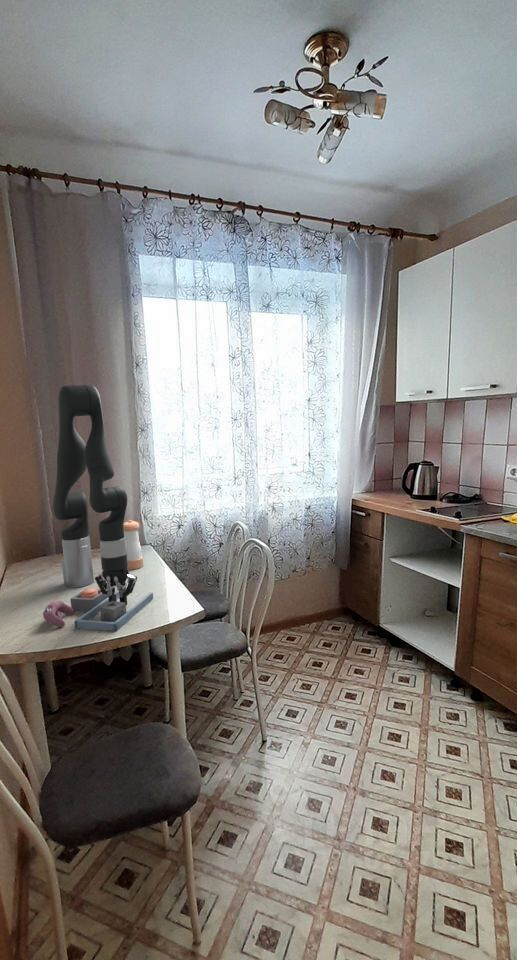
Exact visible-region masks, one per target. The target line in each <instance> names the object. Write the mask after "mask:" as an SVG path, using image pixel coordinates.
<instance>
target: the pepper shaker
mask: <svg viewBox="0 0 517 960" xmlns="http://www.w3.org/2000/svg"><path fill="white" fill-rule="evenodd" d="M123 526H124V537H125V542H126V549H127V561H128V567H127V570H128V571H130V570H131V571H133V570H139V569H141V568H143V567H144V557H143V556H142V547H141V543H140V539H139V529H140V527H141V525H140V523H139V522H138V521H135V520H132V519H128V521H126V522H124V524H123Z"/></svg>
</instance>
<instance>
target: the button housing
mask: <svg viewBox="0 0 517 960" xmlns="http://www.w3.org/2000/svg"><path fill="white" fill-rule="evenodd" d="M86 589H87V588H84V589H83V590H82V591H80V592H79V593H77V594H75V595H73V596H72V597H70V607H72V608H73V610H74V612H80V613H81V612H83V613H87V612H88V611H89V610H91V609H92V608H94V607H95V606H96V605H98V604H99V603H101V602H102V601H103V600H105V599H106V598H108V595H106V594H102V592H101V590H100V588H96V589H97V590H98V595H97V596H95V597H94V598H81V592H83V591H84V590H86Z"/></svg>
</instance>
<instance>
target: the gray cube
mask: <svg viewBox="0 0 517 960" xmlns="http://www.w3.org/2000/svg"><path fill="white" fill-rule="evenodd" d="M126 612H127V605H126V603H124V602H120V601H117V600H116V601H111V602H109V603H107V604H105V605H103V606H102V607H100V612H99V614H100V621H106V622H115V621H117V620H118V619H119V618H120V617H121V616H123V615H124V614H125V613H126Z"/></svg>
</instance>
